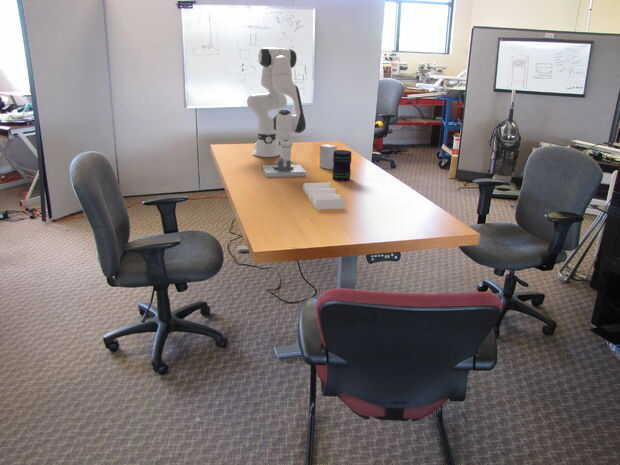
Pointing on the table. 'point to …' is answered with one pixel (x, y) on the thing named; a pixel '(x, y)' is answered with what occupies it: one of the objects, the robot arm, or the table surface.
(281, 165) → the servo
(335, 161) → the dark ribbed barrel
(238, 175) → the table surface
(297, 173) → the chassis
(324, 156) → the small box
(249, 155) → the table surface
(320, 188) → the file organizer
